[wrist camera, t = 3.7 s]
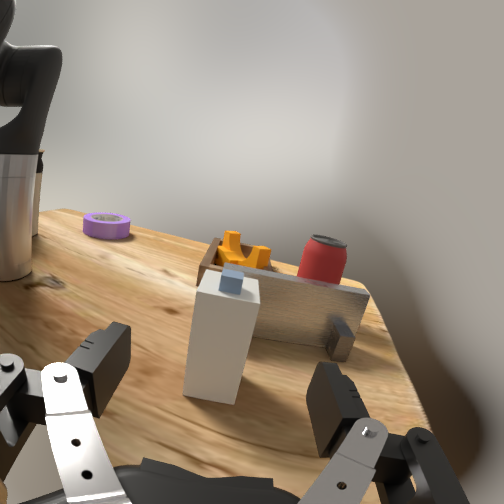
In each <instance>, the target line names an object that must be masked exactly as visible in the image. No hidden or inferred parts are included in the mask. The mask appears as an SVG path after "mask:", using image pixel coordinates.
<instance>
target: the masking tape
mask: <svg viewBox="0 0 504 504" xmlns="http://www.w3.org/2000/svg"><path fill="white" fill-rule="evenodd" d="M129 230H130V218H128V217H126V216H123V215H118V214H113V213H89V214H86V215H84V219H83V233H85V234H86V235H88V236H91V237H95V238H101V239H122V238H126V237H128V236H129Z"/></svg>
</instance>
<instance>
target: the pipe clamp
mask: <svg viewBox="0 0 504 504" xmlns="http://www.w3.org/2000/svg"><path fill="white" fill-rule="evenodd" d="M240 235H241V234H240V233H238V232H236V231H225V233H224V238H223V244H222V246H218V247H217V252H216V258H215V263H216V264H217V265H218V266H221V267H224V263H225V262H226V263H231V264H236V265H241V266H246V267H251V268H256V269H261V270H263V267H264V266H268V262H269V257H270V253H271V249H269V248H267V247H265V246H253V249H252V251H251V254H250V255H249V257H248V258H247V259H246V258H245V257H244V255H243V253H242V251H241V247H240Z"/></svg>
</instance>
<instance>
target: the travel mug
mask: <svg viewBox="0 0 504 504" xmlns="http://www.w3.org/2000/svg"><path fill="white" fill-rule="evenodd" d="M44 151H45V150H43V149H39V154H38V161H37V168H36V177H35V186H34V197H33V212H32V236H34V235H36V234H37V233H38V217H39V201H40V189H41V179H42V171H43V162H42V159H41V158H42V154H43V152H44Z"/></svg>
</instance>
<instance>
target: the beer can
mask: <svg viewBox="0 0 504 504" xmlns="http://www.w3.org/2000/svg"><path fill="white" fill-rule="evenodd" d="M346 247H347V245H346V244H345V243H343V242H342V241H339V240H337V239H333V238H330V237H326V236H321V235H311V238H310V240H309V241H308V242H307V244H306V246H305V248H304V251H303V255H302V259H301V262H300V266H299V270H298V274H297V277H302V278H307V279H312V280H318V281H323V282H328V283H333V284H340V280H341V277H342V273H343V270H344V267H345V264H346V259H347V253H346Z"/></svg>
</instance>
